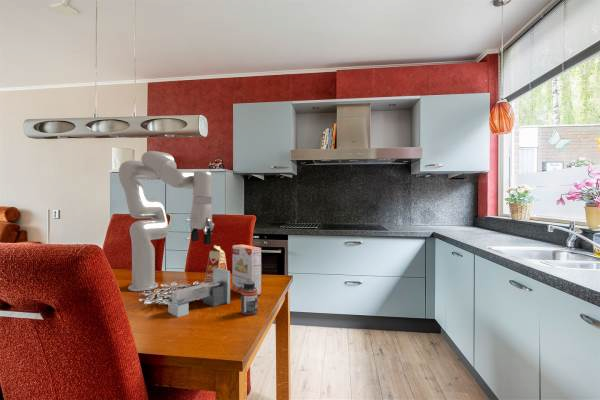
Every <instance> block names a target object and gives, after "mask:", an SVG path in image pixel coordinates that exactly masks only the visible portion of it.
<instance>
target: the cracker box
mask: <svg viewBox="0 0 600 400" xmlns="http://www.w3.org/2000/svg"><path fill="white" fill-rule="evenodd" d="M231 252H232V253H231V254H232V260H231V261H232V264H231V265H232V271H231V272H232V273H231V277H232V285H231V286H232V287H231V289H232V290H231V291H233V292H235V293H239V294H241V290H242V288H243V287H244V282H246V281H254V282H255V287H256V288H257V291H258V296H261V295H262V247H257V246H254V245H252V246H251V245H247V244H243V243H242V244H234V245H232V251H231Z"/></svg>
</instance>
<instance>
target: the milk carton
mask: <svg viewBox="0 0 600 400" xmlns="http://www.w3.org/2000/svg"><path fill="white" fill-rule="evenodd" d="M208 254H209V255H208V260H207V265H206V266H207V267H206V272H205V276H204V277H205V278H204V283H203V284H206V283H210V282H213V268H215V267H216V268H220V269H224V270H228V266H227V259H226V253H225V251H224V250H223V249H222V248H221V246H220V245H219V246H218V245H216V244H214V245H213V248H211V250H209V253H208Z"/></svg>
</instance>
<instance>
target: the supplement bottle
mask: <svg viewBox="0 0 600 400" xmlns="http://www.w3.org/2000/svg"><path fill="white" fill-rule="evenodd" d="M258 296H259V295H258V291H257V288H256V287H255V282H254V281H246V282H244V287H243V288H242V290H241V293H240V306H241V307H240V308H241V309H240V312H241V314H242V315H244V316H254V315H256V314H257V313H258V303H259V302H258Z"/></svg>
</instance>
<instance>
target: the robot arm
mask: <svg viewBox="0 0 600 400" xmlns="http://www.w3.org/2000/svg"><path fill="white" fill-rule="evenodd" d="M118 178H119V182H120V184H121V186H122V188H123V192H124V195H125V199H126V204H127V209H128V213H129V216H130V217H132V218H134V219H143V220H137V221H134V222H133V223H132V224H131V225H130V227H129V236H130V240H131V261H132V262H131V280H132V281H131V283H132V284H129V286H128V287H127V289H128V290H129V291H130V292H145V291H146V290H147V291H150V290H151V291H152V290H154V289H156V288H158V287H159V283H158V282H156V280H155V279H156V278H155V274H156V273H155V272H156V265H155V264H156V262H155V260H156V257H155V256H156V252H155V251H156V250H155V246H154V245H153V243H152V242H151V241H153V240H161V239H164V238H166V237H167V236H168V235H169V232H170V227H169V221H168V217H167V213H166V209H165V206H164V204H163V202H162V201H161V200H160V199H158V198H148V197H147V194H146V190H145V187H144V186H143V185H142V183H140V182H139V180H147V181H148V180H149V181H151V180H154V181H155V180H157V179H159V178H160V179H161V181H162V182H163V183H165V185H169V186H170V187H173V188H175V189H176V188H177V189H192V204H191V210H190V216H189V218H190V219H189V227H190V232H191V233H190V242H198V241H200V240H199V239H200V231H199V230H203V232H204V234H203V237H202V238H203V240H202V241H203V242H202V243H203V245H211V244H212V234H213V231H214V227H215V223H214V222H213V211H212V202H213V201H212V200H213V199H212V196H213V195H212V194H213V173H212V172H211V171H207V170H196V171H195V170H187V169H178V168H177V162H176V161H175V158H174V156H173V155H172V154H170V153H167V152H162V151H157V150H148V151H146V152H144V153H143V154H142V156H141V161H140V160H126V161H123V162H122V163H121V164H120V166H119V169H118Z"/></svg>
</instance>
